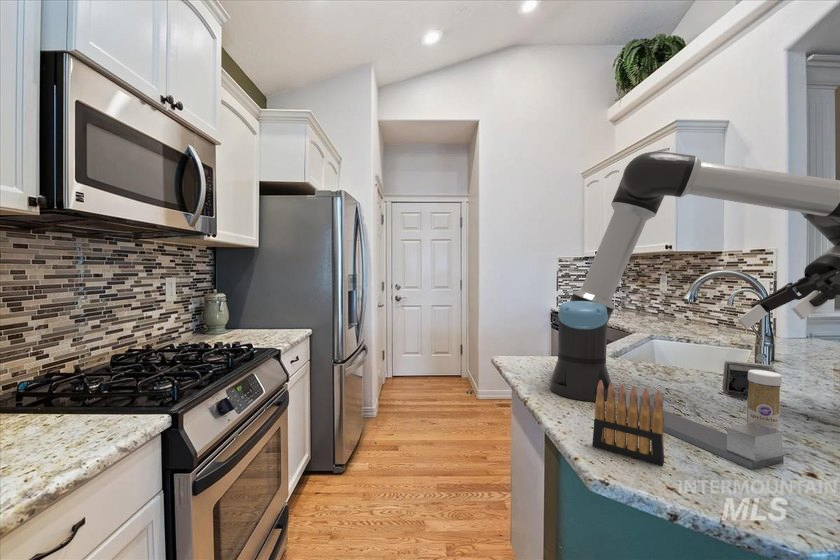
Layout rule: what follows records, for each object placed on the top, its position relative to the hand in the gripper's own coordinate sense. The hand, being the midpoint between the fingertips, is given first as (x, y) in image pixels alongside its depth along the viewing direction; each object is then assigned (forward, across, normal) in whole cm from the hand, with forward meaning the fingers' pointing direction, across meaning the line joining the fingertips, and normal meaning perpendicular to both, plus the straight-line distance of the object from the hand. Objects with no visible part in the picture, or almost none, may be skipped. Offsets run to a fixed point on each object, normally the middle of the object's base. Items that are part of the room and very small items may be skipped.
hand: (767, 319), depth 81 cm
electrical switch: (+2, +20, -19) cm, 28 cm away
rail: (+31, -2, -7) cm, 32 cm away
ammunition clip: (+47, -11, 0) cm, 48 cm away
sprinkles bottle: (+24, -6, -14) cm, 28 cm away
